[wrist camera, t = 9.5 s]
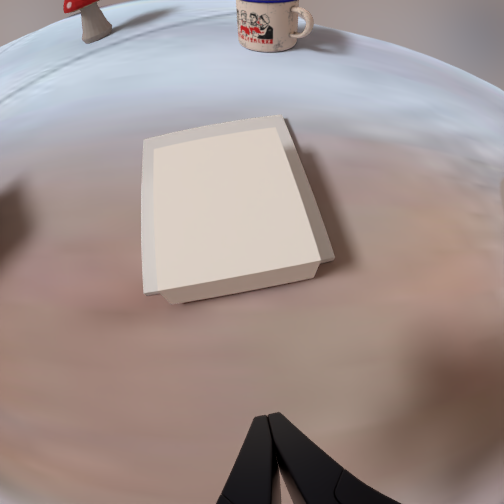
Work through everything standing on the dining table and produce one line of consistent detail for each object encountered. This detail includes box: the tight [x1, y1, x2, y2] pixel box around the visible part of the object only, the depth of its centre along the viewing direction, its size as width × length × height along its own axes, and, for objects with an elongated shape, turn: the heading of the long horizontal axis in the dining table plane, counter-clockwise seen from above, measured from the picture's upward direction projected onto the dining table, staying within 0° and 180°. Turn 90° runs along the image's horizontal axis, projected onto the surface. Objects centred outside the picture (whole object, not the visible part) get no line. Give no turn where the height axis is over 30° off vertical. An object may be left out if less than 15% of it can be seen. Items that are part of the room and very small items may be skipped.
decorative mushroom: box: [64, 0, 112, 44], centre depth 38 cm, size 10×9×15 cm
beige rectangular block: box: [153, 127, 321, 305], centre depth 22 cm, size 3×10×12 cm
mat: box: [141, 115, 335, 296], centre depth 25 cm, size 16×14×1 cm
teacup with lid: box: [236, 0, 314, 52], centre depth 32 cm, size 12×9×12 cm
